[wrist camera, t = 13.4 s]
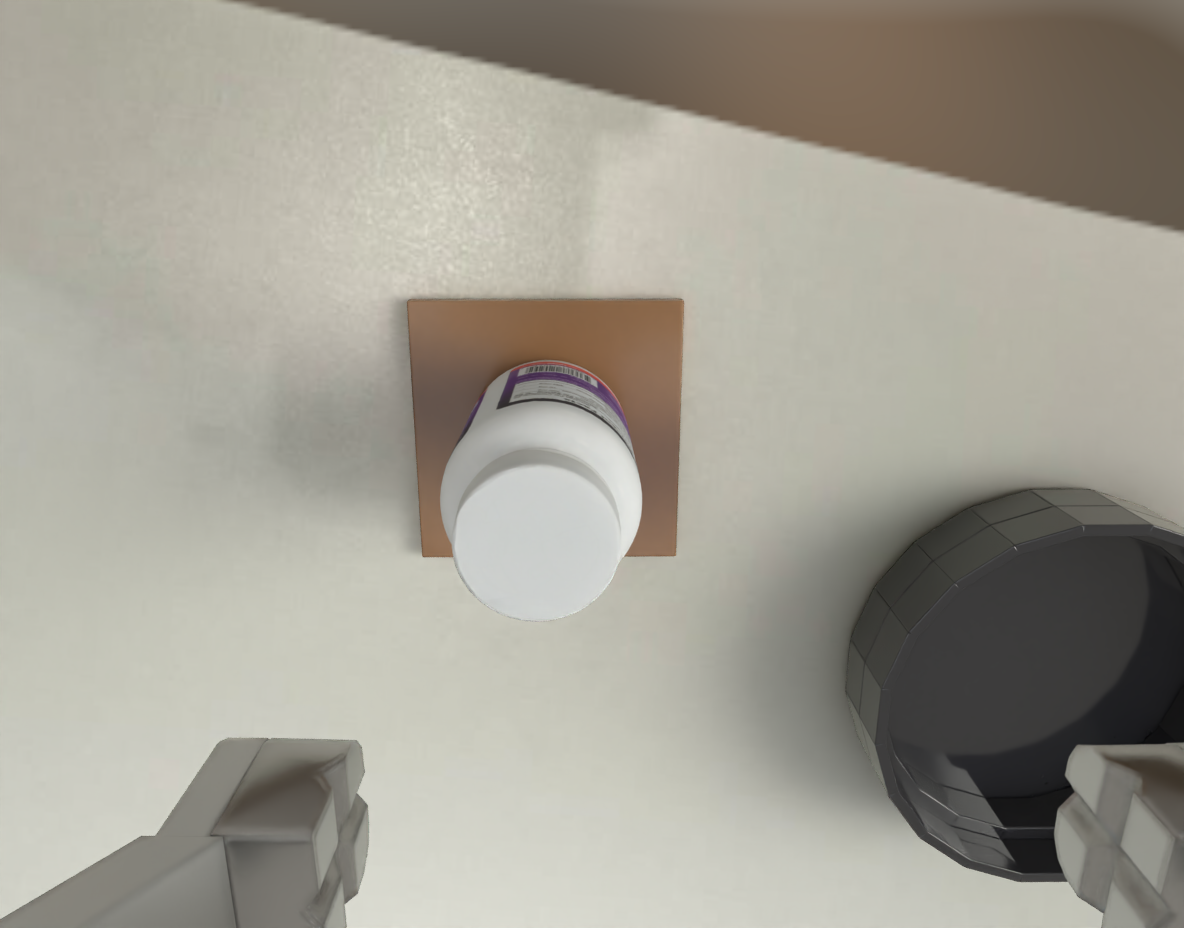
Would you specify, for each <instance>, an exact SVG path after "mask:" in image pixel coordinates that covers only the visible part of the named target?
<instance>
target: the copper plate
mask: <svg viewBox="0 0 1184 928" xmlns="http://www.w3.org/2000/svg"><path fill="white" fill-rule="evenodd" d="M407 313H408V329H409V346H410V362H411V378H412V395H413V411H414V428H415V444H416V460H417V477H418V493H419V509H420V526H421V542H422V556H423V557H453V552H452V544H451V542H450V541H449V539H448V536H447V534H446V531H445V528H444V525H443V521H442V515H441V507H440V493H441V484H442V479H443V475H444V471H445V468H446V465H447V463H448V460H449V457H450V455H451V453H452V451H453V449H454V448H455V445H456V443H457V441H458V439H459V437H460V435H461V433H462V431H463V429H464V427H465V425H466V423H467V421H468V419H469V416H470V414H471V412H472V410H473V408H474V406H475V404H476V402H477V400H478V399H479V398H480V396H481V395H482V394H483V392H484V391H485V390H486V389H487V387H488V386H489V385H490V384H491V383H492V382H493V381H494V380H495V379H496V378H498V377H499V376H500V375H502V374H503V373H505V372H506V371H508V370H510V369H512V368H514V367H516V366H519V365H521V364H524V363H528V362H533V361H539V360H557V361H563V362H568V363H571V364H574V365H577V366H580V367H582V368H584V369H586V370H588V371H589V372H591V373H593V374H594V375H595V376H597V377H598V378H599V379H601V380H602V381H603V382H604V383H605V384H606V385H607V386H608V387H609V388H610V390H611V391H612V392H613V394H614V395H615V396H616V398H617V400H618V401H619V403H620V405H621V407H622V410H623V412H624V415H625V417H626V420H627V424H628V429H629V434H630V438H631V443H632V447H633V452H634V456H635V460H636V464H637V468H638V472H639V477H640V483H641V490H642V511H641V519H640V523H639V527H638V530H637V533H636V536H635V538H634V540H633V542H632V544H631V546H630V548H629V550H628V551H627V553H626V554H625V556H675V555H676V535H677V504H678V473H679V441H680V410H681V379H682V348H683V316H684V301H683V300H682V299H410V300H408V301H407Z"/></svg>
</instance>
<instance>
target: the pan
mask: <svg viewBox="0 0 1184 928" xmlns="http://www.w3.org/2000/svg"><path fill="white" fill-rule="evenodd" d="M846 695H847V698H848V702H849V706H850V709H851V713H852V717H853V721H854V724H855V728H856V732H857V735H858V738H859V740H860V742H861V744H862V746H863V748H864V750H865V751H866V753H867V755H868V757H869V759H870V761H871V763H872V765H873V767H874V769H875V771H876V773H877V775H878V777H879V779H880V781H881V783H882V785H883V787H884V789H885V791H886V793H887V794H888V796H889V798H890V799H891V801H892V802H893V803H894V805H895V806H896V807H897V809H898V810H899V811H900V813H901V814H902V815H903V817H904V818H905V819H906V821H907V822H908V823H909V825H910V826H911V827H912V829H913V830H914V832H915V833H916V834H917V836H918V837H920V839H922V840H924V841H925V842H927V843H928V844H930V845H931V846H933V847H934V848H936V849H937V850H939V851H940V852H942V853H943V854H945V855H947V856H948V857H950V858H951V859H953V860H954V861H956V862H957V863H959V864H960V865H962V866H963V867H966V868H969V869H973V870H977V871H980V872H984V873H988V874H991V875H995V876H999V877H1002V878H1006V879H1010V880H1014V881H1017V882H1019V881H1020V882H1068V881H1067V879H1066V878H1065V875H1064V873H1063V870H1062V868H1061V865H1060V863H1059V861H1058V857H1057V850H1056V844H1055V837H1054V830H1055V824H1056V817H1057V811H1058V808H1059V807H1060V806H1061V805H1062V804H1063V803H1064V802H1065V801H1066V800H1067V799H1068V798H1069V797H1070V796H1071V795H1072V794H1073V793H1074V792H1075V791H1074V789H1073V788H1072V786H1071V784H1070V783H1069V781H1068V780H1067V778H1066V776H1065V772H1066V768H1067V763H1068V759H1069V756H1070V754H1071V753H1072V751H1073V750H1074V749H1075V747H1076V746H1077V745H1132V744H1166V743H1184V528H1183V527H1181V526H1179V525H1177V524H1175V523H1173V522H1171V521H1170V520H1168V519H1166V518H1164V517H1162V516H1161V515H1159V514H1157V513H1155V512H1153V511H1151V510H1150V509H1148V508H1146V507H1144V506H1141V505H1138V504H1135V503H1132V502H1128V501H1125V500H1122V499H1119V498H1116V497H1113V496H1110V495H1107V494H1104V493H1101V492H1098V491H1095V490H1090V489H1031V490H1029V491H1028V490H1027V491H1024V492H1020V493H1017V494H1014V495H1010V496H1007V497H1004V498H1000V499H997V500H994V501H990V502H987V503H983V504H980V505H977V506H973V507H970V508H969V509H966V510H964V511H962V512H961V513H959V514H958V515H956V516H954V517H953V518H951V519H950V520H948V521H947V522H945V523H943V524H942V525H940V526H939V527H937V528H935V529H934V530H932V531H931V532H929V533H928V534H926V535H924V536H923V537H921V538H920V539H918V540H916V541H915V543H913V544H912V545H911V546H910V548H909V549H908V550H907V551H906V552H905V553H904V554H903V555H902V556H901V558H900V559H899V560H898V561H897V562H896V563H895V564H894V565H893V567H892V568H891V569H890V570H889V571H888V572H887V573H886V574H885V575H884V577H883V578H882V579H881V580H880V581H879V582H878V583H877V584H876V586H875V588H874V589H873V591H872V593H871V595H870V597H869V600H868V602H867V604H866V606H865V608H864V610H863V613H862V615H861V617H860V619H859V621H858V624H857V626H856V628H855V630H854V632H853V634H852V639H851V641H850V650H849V661H848V671H847V681H846Z"/></svg>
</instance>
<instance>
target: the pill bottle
mask: <svg viewBox="0 0 1184 928" xmlns="http://www.w3.org/2000/svg"><path fill="white" fill-rule="evenodd" d="M440 507H441V515H442V521H443V525H444V528H445V531H446V534H447V536H448V539H449V541H450V542H451V544H452V552H453V557H454V562H455V566H456V568H457V571H458V573H459V575H460V577H461V579H462V581H463V582H464V584H465V585H466V586H467V588H468V589H469V591H470V592H471V593H472V594H473V595H474V596H475V597H476V598H477V599H478V600H479V601H480V602H482V603H483V604H485V605H486V606H487V607H489V608H490V609H492V610H494V611H496V612H497V613H500V614H502V615H505V616H507V617H510V618H514V619H518V620H524V621H535V622H537V621H551V620H556V619H559V618H563V617H567V616H569V615H571V614H574V613H576V612H578V611H580V610H582V609H584V608H585V607H587V606H588V605H589V604H591V603H592V602H593V601H594V600H595V599H597V598H598V597H599V596H600V595H601V594H602V593H603V591H604V590H605V589H606V587H607V586H608V585H609V583H610V582H611V580H612V578H613V576H614V574H615V572H616V569H617V567H618V563H619V562H620V561H621V560H622V559H623V557H624V556H625V554H626V553H627V551H628V550H629V548H630V546H631V544H632V542H633V540H634V538H635V536H636V533H637V530H638V527H639V523H640V519H641V511H642V490H641V483H640V477H639V472H638V468H637V464H636V460H635V456H634V452H633V447H632V443H631V438H630V434H629V429H628V424H627V420H626V417H625V415H624V412H623V410H622V407H621V405H620V403H619V401H618V400H617V398H616V396H615V395H614V394H613V392H612V391H611V390H610V388H609V387H608V386H607V385H606V384H605V383H604V382H603V381H602V380H601V379H599V378H598V377H597V376H595V375H594V374H593V373H591V372H589V371H588V370H586V369H584V368H582V367H580V366H577V365H574V364H571V363H568V362H563V361H557V360H539V361H533V362H528V363H524V364H521V365H519V366H516V367H514V368H512V369H510V370H508V371H506V372H505V373H503V374H502V375H500V376H499V377H498V378H496V379H495V380H494V381H493V382H492V383H491V384H490V385H489V386H488V387H487V389H486V390H485V391H484V392H483V394H482V395H481V396H480V398H479V399H478V400H477V402H476V404H475V406H474V408H473V410H472V412H471V414H470V416H469V419H468V421H467V423H466V425H465V427H464V429H463V431H462V433H461V435H460V437H459V439H458V441H457V443H456V445H455V448H454V449H453V451H452V453H451V455H450V457H449V460H448V463H447V465H446V468H445V471H444V475H443V479H442V484H441V493H440Z"/></svg>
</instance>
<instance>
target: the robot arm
mask: <svg viewBox="0 0 1184 928" xmlns="http://www.w3.org/2000/svg"><path fill="white" fill-rule="evenodd" d="M364 773H365V769H364V761H363V753H362V747H361V745H360V744H359V742H358V741H357V740H328V739H291V738H271V739H268V738H227V739H225V740H222V741H220V742H219V743H218V744H217V745H216V747H215V748H214V749H213V751H212V752H211V754H210V755H209V757H208V758H207V760H206V761H205V763H204V764H203V766H202V767H201V769H200V770H199V772H198V773H197V775H196V776H195V778H194V779H193V781H192V782H191V784H190V785H189V787H188V788H187V790H186V791H185V793H184V794H183V796H182V797H181V798H180V800H179V801H178V803H177V804H176V806H175V807H174V809H173V810H172V812H171V813H170V815H169V816H168V818H167V819H166V821H165V822H164V824H163V825H162V827H161V828H160V830H159V831H158V833H157V834H156V836H141V837H139V838H137V839H136V840H134V841H132V842H130V843H129V844H127V845H125V846H124V847H122V848H120V849H119V850H117V851H115V852H113V853H112V854H110V855H108V856H107V857H105V858H103V859H102V860H100V861H98V862H97V863H95V864H93V865H91V866H90V867H88V868H86V869H85V870H83V871H81V872H80V873H78V874H76V875H75V876H73V877H71V878H69V879H68V880H66V881H64V882H63V883H61V884H59V885H58V886H56V887H54V888H53V889H51V890H49V891H47V892H46V893H44V894H42V895H41V896H39V897H37V898H36V899H34V900H32V901H31V902H29V903H27V904H25V905H24V906H22V907H20V908H19V909H17V910H15V911H14V912H12V913H10V914H9V915H7V916H5V917H3V918H2V919H0V928H346V927H347V925H346V915H345V904H346V903H347V902H348V901H349V900H350V899H352V898H353V897H354V896H355V895H356V894H358V891H359V887H360V884H361V881H362V878H363V874H364V870H365V864H366V858H367V852H368V845H369V815H368V805H367V804H366V803H365V801H364V800H363V799H362V798H361V797H360V796H359V795H358V794H357V792H358V789H359V786H360V784H361V781H362V778H363V776H364ZM1065 776H1066V778H1067V780H1068V781H1069V783H1070V784H1071V786H1072V788H1073V789H1074V791H1075V792H1074V793H1073V794H1072V795H1071V796H1070V797H1069V798H1068V799H1067V800H1066V801H1065V802H1064V803H1063V804H1062V805H1061V806H1060V807H1059V808H1058V811H1057V817H1056V824H1055V830H1054V837H1055V844H1056V850H1057V857H1058V861H1059V863H1060V865H1061V868H1062V870H1063V873H1064V875H1065V878H1066V879H1067V881H1068V882H1069V884H1070V885H1071V887H1072V888H1073V890H1074V892H1075V893H1076V895H1077V896H1078V897H1079V898H1081V899H1082V900H1084V901H1085V902H1087V903H1088V904H1090V905H1091V906H1093V907H1095V908H1096V909H1098V910H1099V911H1101V912H1102V913H1104V914H1103V920H1102V926H1101V928H1184V743H1166V744H1132V745H1077V746H1076V747H1075V749H1074V750H1073V751H1072V753H1071V754H1070V756H1069V759H1068V763H1067V768H1066V772H1065Z"/></svg>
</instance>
